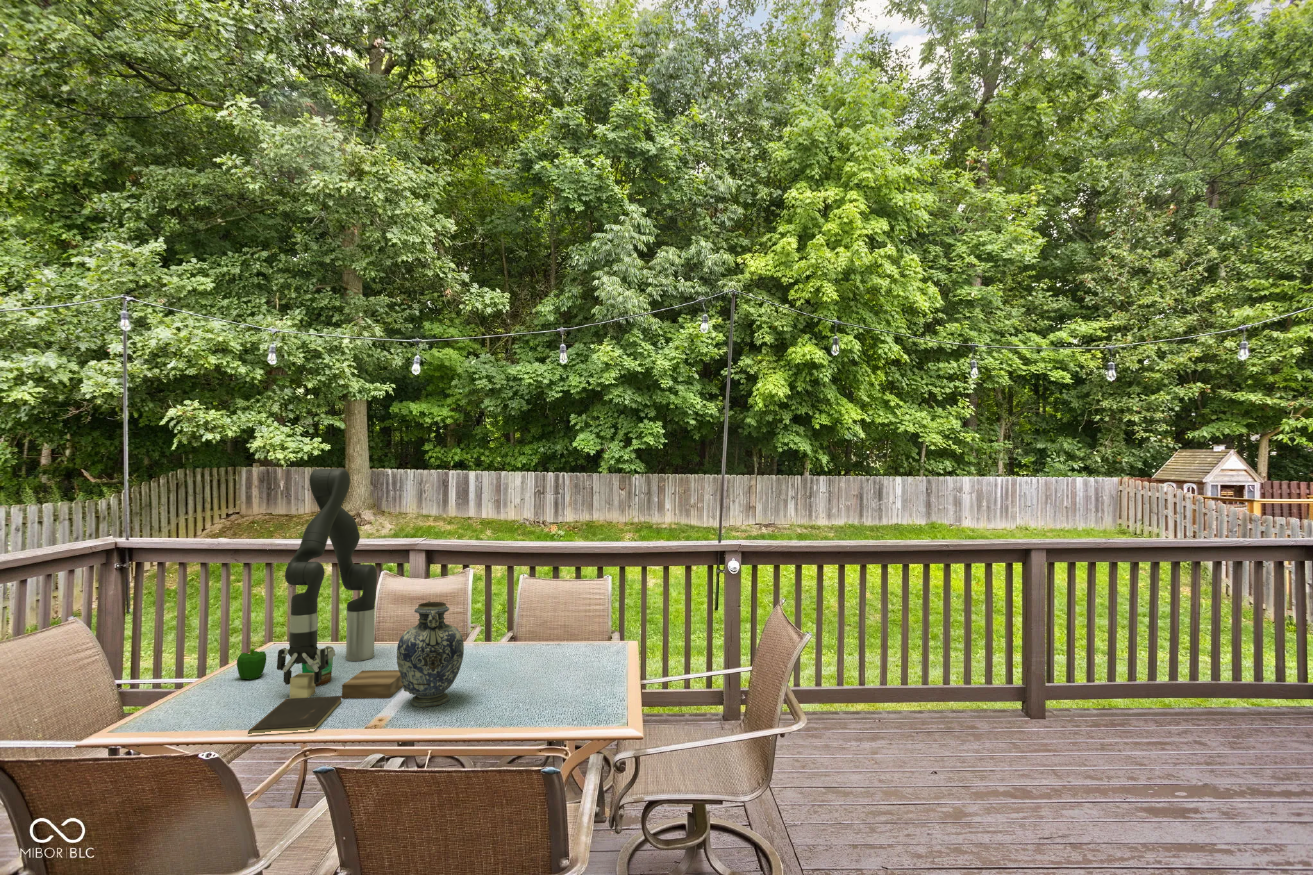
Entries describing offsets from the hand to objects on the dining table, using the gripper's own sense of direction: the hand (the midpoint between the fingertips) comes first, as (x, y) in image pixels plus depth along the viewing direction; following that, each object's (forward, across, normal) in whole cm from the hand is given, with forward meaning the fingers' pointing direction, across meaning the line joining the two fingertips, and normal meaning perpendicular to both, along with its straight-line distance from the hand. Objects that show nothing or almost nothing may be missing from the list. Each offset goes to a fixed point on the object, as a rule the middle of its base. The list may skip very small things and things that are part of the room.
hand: (302, 683), depth 200 cm
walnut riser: (+4, -20, -4) cm, 21 cm away
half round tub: (+4, 0, -12) cm, 13 cm away
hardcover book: (+5, -8, +18) cm, 20 cm away
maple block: (+4, 0, 0) cm, 4 cm away
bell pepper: (+4, +26, -18) cm, 32 cm away
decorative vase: (+4, -40, +6) cm, 41 cm away
